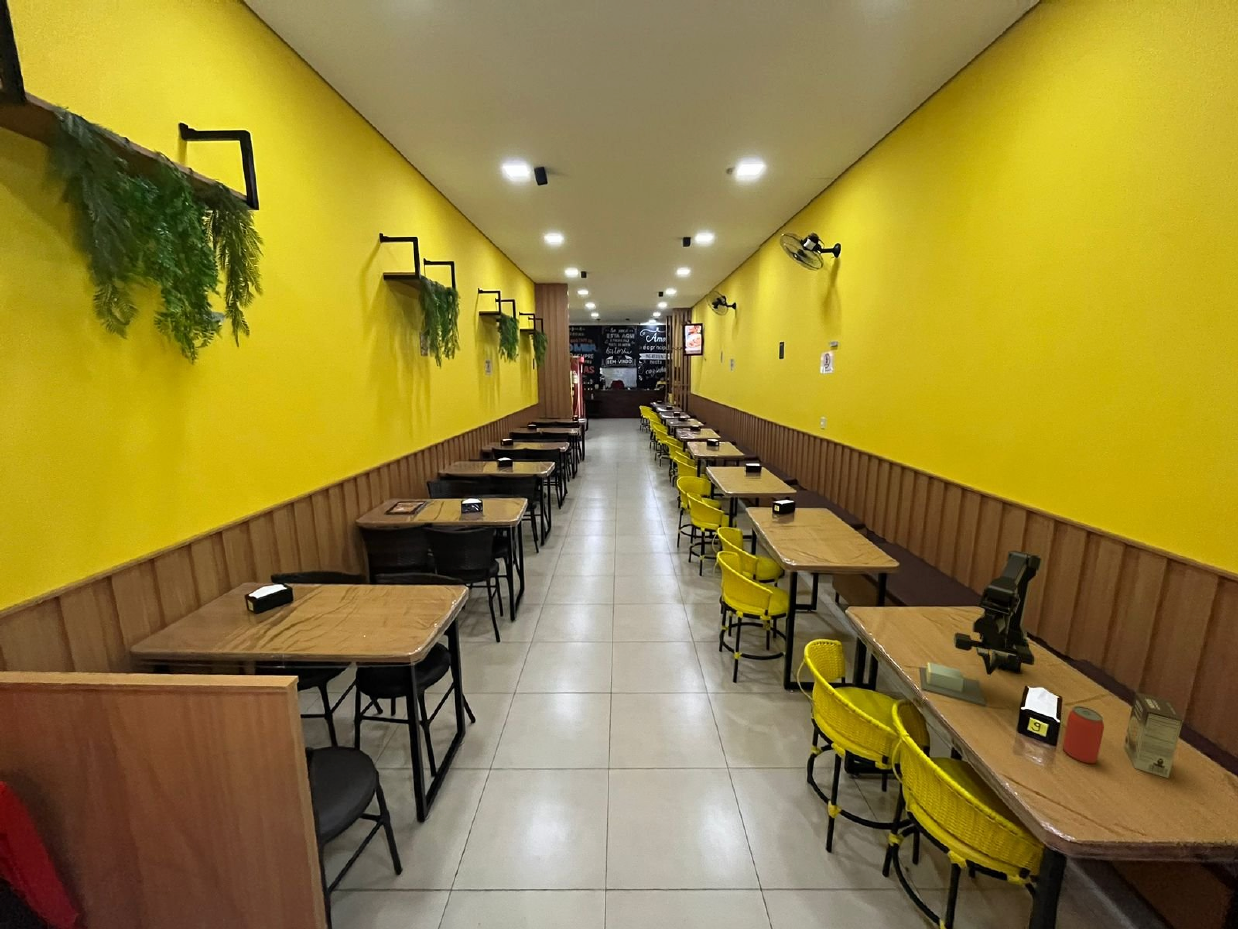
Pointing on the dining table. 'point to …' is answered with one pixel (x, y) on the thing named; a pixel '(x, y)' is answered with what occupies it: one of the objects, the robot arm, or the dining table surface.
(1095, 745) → the beer can
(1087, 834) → the dining table surface
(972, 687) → the mat
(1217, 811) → the dining table surface
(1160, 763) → the coffee box
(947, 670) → the pale green block
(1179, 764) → the dining table surface
